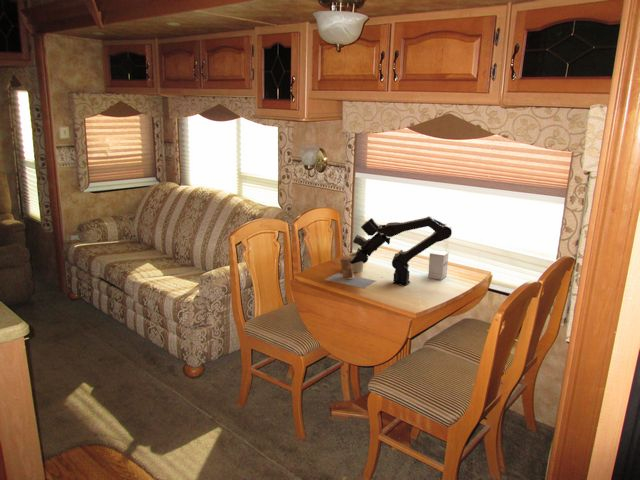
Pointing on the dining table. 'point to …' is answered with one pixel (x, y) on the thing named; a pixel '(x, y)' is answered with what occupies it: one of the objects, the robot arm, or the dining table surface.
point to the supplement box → (438, 265)
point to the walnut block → (347, 268)
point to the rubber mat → (351, 280)
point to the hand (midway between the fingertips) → (351, 263)
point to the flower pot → (356, 264)
